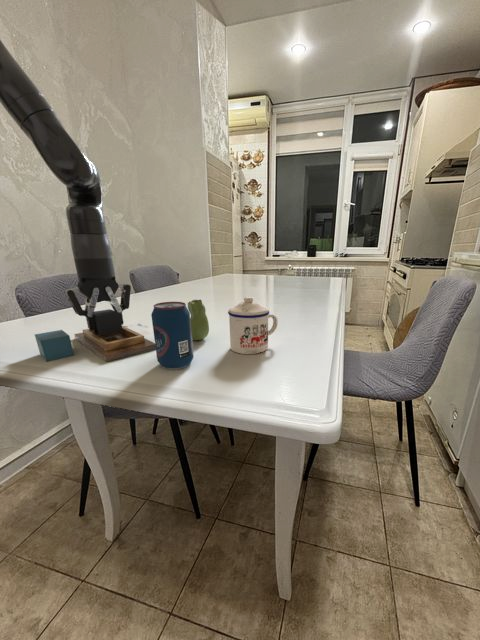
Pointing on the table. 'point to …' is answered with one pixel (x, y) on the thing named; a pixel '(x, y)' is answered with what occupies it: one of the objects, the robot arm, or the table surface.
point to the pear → (198, 320)
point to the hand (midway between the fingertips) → (106, 329)
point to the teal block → (54, 345)
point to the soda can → (172, 335)
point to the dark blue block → (107, 322)
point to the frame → (115, 343)
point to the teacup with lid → (250, 327)
